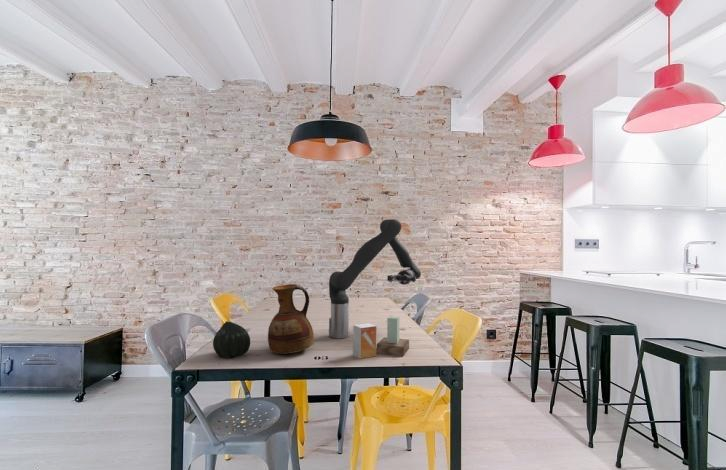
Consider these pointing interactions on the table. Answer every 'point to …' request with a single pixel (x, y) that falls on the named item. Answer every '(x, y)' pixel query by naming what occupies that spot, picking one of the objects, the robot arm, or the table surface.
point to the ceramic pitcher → (290, 323)
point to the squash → (231, 340)
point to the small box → (364, 340)
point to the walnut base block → (393, 347)
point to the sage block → (392, 329)
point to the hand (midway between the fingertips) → (398, 279)
